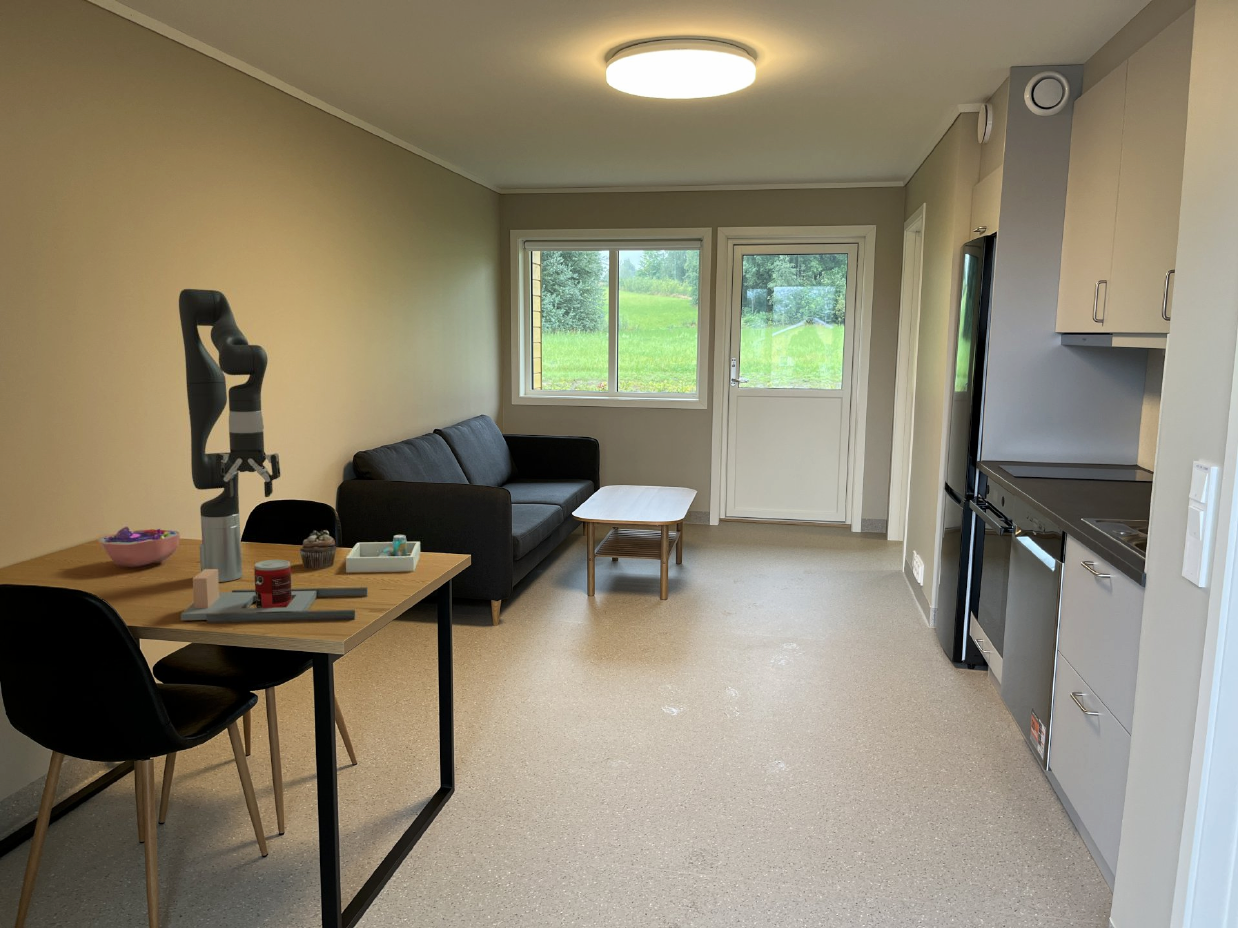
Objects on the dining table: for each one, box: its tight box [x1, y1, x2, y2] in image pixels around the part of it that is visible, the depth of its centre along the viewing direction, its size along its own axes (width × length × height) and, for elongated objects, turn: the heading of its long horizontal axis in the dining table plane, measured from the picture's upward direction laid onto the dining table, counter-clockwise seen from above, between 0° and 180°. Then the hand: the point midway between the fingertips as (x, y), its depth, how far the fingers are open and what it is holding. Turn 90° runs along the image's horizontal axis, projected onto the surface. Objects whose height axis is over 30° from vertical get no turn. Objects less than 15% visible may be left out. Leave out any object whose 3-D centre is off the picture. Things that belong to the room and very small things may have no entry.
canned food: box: [253, 559, 292, 608], centre depth 206 cm, size 8×8×11 cm
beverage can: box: [377, 534, 407, 557], centre depth 249 cm, size 12×12×8 cm
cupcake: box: [299, 529, 337, 570], centre depth 244 cm, size 10×10×10 cm
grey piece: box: [180, 569, 318, 621], centre depth 205 cm, size 26×16×8 cm, turn 97°
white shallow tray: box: [345, 541, 421, 573], centre depth 248 cm, size 18×18×4 cm
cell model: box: [98, 526, 181, 568], centre depth 242 cm, size 17×20×11 cm
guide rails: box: [206, 586, 369, 624], centre depth 207 cm, size 32×19×2 cm, turn 97°
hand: (249, 496), depth 211 cm, fingers open, 8 cm apart
